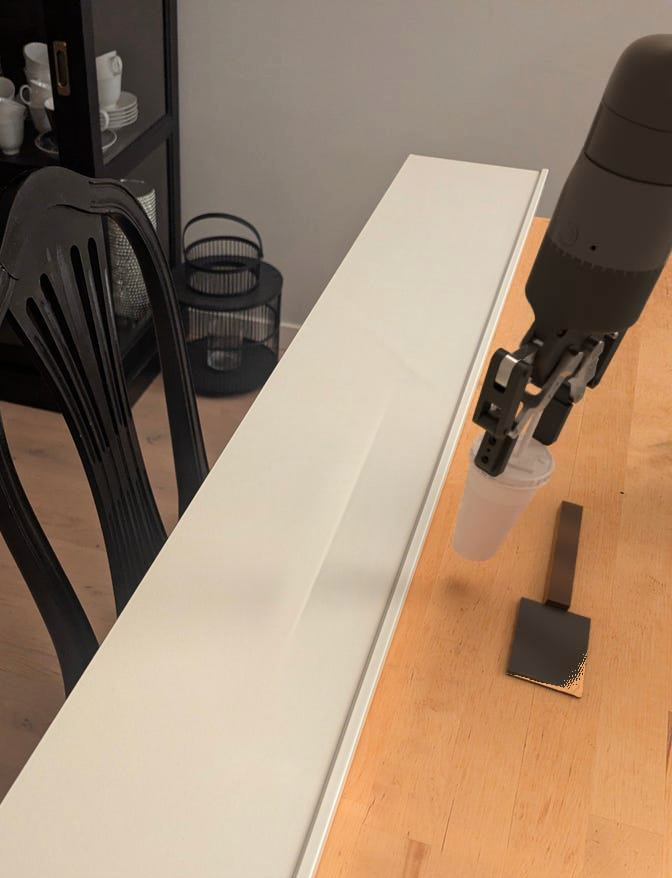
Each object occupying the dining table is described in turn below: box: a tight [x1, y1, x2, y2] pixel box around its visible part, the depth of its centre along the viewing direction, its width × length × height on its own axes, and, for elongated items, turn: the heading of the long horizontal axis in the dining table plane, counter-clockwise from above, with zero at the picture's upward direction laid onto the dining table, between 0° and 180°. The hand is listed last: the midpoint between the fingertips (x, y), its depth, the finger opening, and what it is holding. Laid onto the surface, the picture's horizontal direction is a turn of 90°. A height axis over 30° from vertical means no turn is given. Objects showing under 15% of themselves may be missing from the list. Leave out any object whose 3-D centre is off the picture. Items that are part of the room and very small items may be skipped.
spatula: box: [505, 499, 592, 689], centre depth 80 cm, size 24×6×1 cm, turn 159°
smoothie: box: [451, 410, 556, 563], centre depth 71 cm, size 6×6×14 cm
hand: (514, 453), depth 69 cm, fingers closed on smoothie, 6 cm apart
